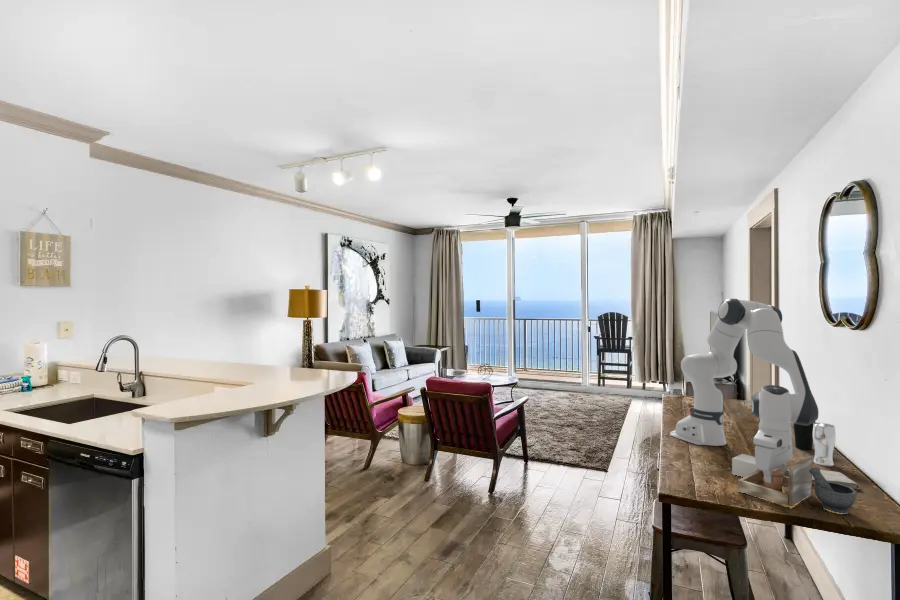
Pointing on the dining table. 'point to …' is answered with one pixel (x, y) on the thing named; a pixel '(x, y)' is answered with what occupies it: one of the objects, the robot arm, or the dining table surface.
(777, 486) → the terracotta pot
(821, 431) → the beer glass
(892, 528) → the dining table surface
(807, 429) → the cup
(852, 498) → the mortar and pestle
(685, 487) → the dining table surface
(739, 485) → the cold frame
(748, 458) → the block
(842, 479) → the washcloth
